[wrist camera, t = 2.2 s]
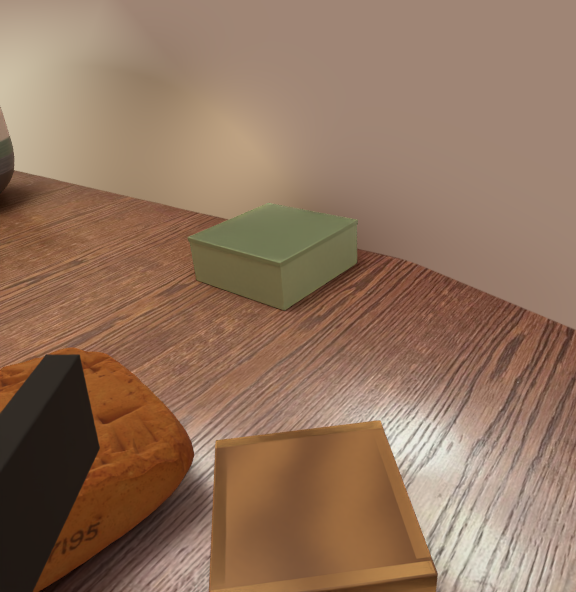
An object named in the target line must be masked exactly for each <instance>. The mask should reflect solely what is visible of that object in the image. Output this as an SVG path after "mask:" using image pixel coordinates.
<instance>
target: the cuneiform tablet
mask: <svg viewBox="0 0 576 592" xmlns="http://www.w3.org/2000/svg"><path fill="white" fill-rule="evenodd" d="M69 354H80V358H81V363H82V367H83V372H84V377H85V381H86V386H87V390H88V395H89V400H90V404H91V409H92V414H93V418H94V423H95V427H96V432H97V437H98V441H99V446H100V449H99V451H98V453H97V455H96V458H95V460H94V462H93V464H92V466H91V468H90V471H89V473H88V475H87V477H86V479H85V481H84V483H83V486H82V488H81V490H80V492H79V494H78V496H77V498H76V501H75V503H74V505H73V507H72V509H71V511H70V513H69V516H68V518H67V520H66V522H65V524H64V526H63V528H62V531H61V533H60V535H59V537H58V539H57V541H56V543H55V546H54V548H53V550H52V552H51V554H50V556H49V558H48V561H47V563H46V565H45V567H44V569H43V571H42V573H41V576H40V578H39V580H38V582H37V584H36V586H35V588H34V591H33V592H39V591H40V590H42V589H44V588H45V587H47V586H49V585H50V584H52V583H54V582H55V581H57V580H58V579H60V578H62V577H63V576H65V575H66V574H68V573H69V572H71V571H72V570H73V569H75V568H76V567H78V566H80V565H81V564H83V563H85V562H86V561H87V560H89V559H90V558H92V557H93V556H94V555H96V554H97V553H98V552H100V551H101V550H103V549H104V548H105V547H107V546H108V545H109V544H111V543H112V542H114V541H116V540H117V539H119V538H120V537H121V536H123V535H124V534H126V533H127V532H128V531H130V530H131V529H132V528H134V527H135V526H136V525H137V524H139V523H140V522H141V521H142V520H144V519H145V518H146V517H147V516H149V515H150V514H151V513H152V512H153V511H155V510H156V509H157V508H158V507H159V506H160V505H161V504H162V503H163V502H164V501H165V500H166V499H167V498H168V497H170V496H171V495H172V493H173V492H174V491H175V490H176V488H177V487H178V486H179V484H180V483H181V481H182V480H183V478H184V476H185V475H186V473H187V472H188V470H189V468H190V466H191V464H192V461H193V457H194V451H193V447H192V443H191V440H190V438H189V436H188V434H187V432H186V431H185V429H184V428H183V426H182V425H181V424H180V422H179V421H178V420H177V418H176V417H175V416H174V415H173V413H172V412H171V411H170V410H169V409H168V408H167V407H166V405H165V404H164V403H163V402H162V401H161V400H160V399H159V398H158V397H157V396H155V395H154V393H153V392H152V391H151V390H150V389H149V388H148V387H147V386H146V385H144V384H143V383H142V382H141V381H140V380H139V379H138V378H137V377H136V376H135V375H134V374H133V373H131V372H130V371H129V370H128V369H126V368H125V367H124V366H123V365H121V364H120V363H119V362H117V361H116V360H114V359H113V358H111V357H110V356H109V355H107V354H104V353H100V352H86V351H83V350H80V349H76V348H66V349H61V350H58V351H55V352H53V353H50V354H49V355H69ZM43 358H44V357H43ZM43 358H36V359H32V360H29V361H26V362H23V363H18V364H14V365H10V366H5V367H3V368H2V369H0V413H1V411H2V410H3V409H4V408H5V406H6V405H7V404H8V402H9V401H10V400H11V399H12V397H13V396H14V395H15V393H16V392H17V391H18V390H19V388H20V387H21V386H22V385H23V383H24V382H25V381H26V379H27V378H28V377H29V376H30V374H31V373H32V372H33V370H34V369H35V368H36V367H37V365H38V364H39V363H40V362H41V360H42V359H43Z"/></svg>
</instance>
